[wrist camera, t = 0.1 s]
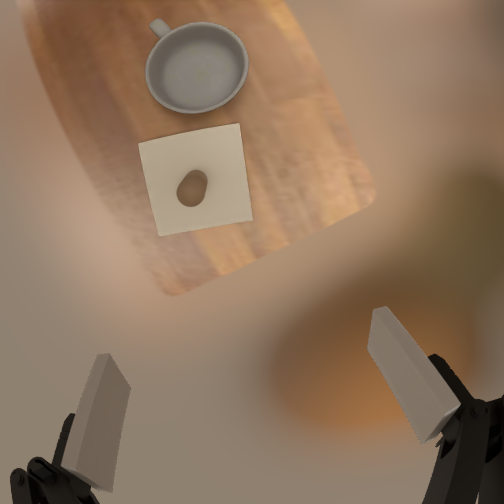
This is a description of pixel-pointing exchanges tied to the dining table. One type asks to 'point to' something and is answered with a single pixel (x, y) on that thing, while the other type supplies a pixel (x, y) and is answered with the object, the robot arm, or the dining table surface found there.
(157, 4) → the dining table surface
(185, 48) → the teacup
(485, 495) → the robot arm
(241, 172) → the lid
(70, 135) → the dining table surface
